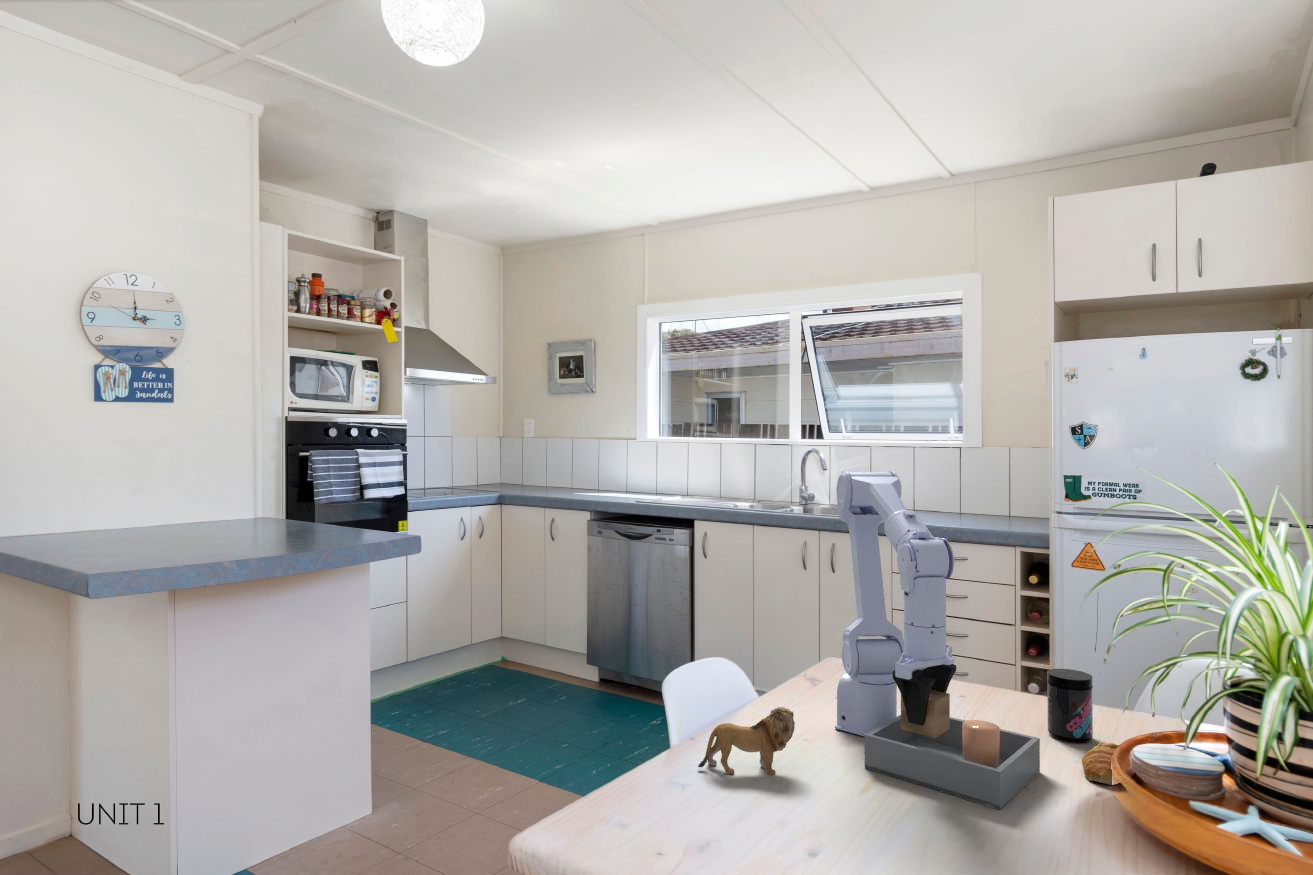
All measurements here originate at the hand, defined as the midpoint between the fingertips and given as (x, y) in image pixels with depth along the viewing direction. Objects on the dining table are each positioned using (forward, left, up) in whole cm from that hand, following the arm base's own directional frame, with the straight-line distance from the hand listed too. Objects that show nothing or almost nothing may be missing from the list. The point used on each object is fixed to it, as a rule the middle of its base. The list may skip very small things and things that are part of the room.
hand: (924, 718), depth 110 cm
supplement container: (+10, +34, -10) cm, 37 cm away
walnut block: (0, 0, -2) cm, 2 cm away
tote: (+1, +7, -9) cm, 12 cm away
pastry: (+19, +22, -10) cm, 30 cm away
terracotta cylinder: (+5, +7, -9) cm, 12 cm away
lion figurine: (-21, -13, -10) cm, 27 cm away
